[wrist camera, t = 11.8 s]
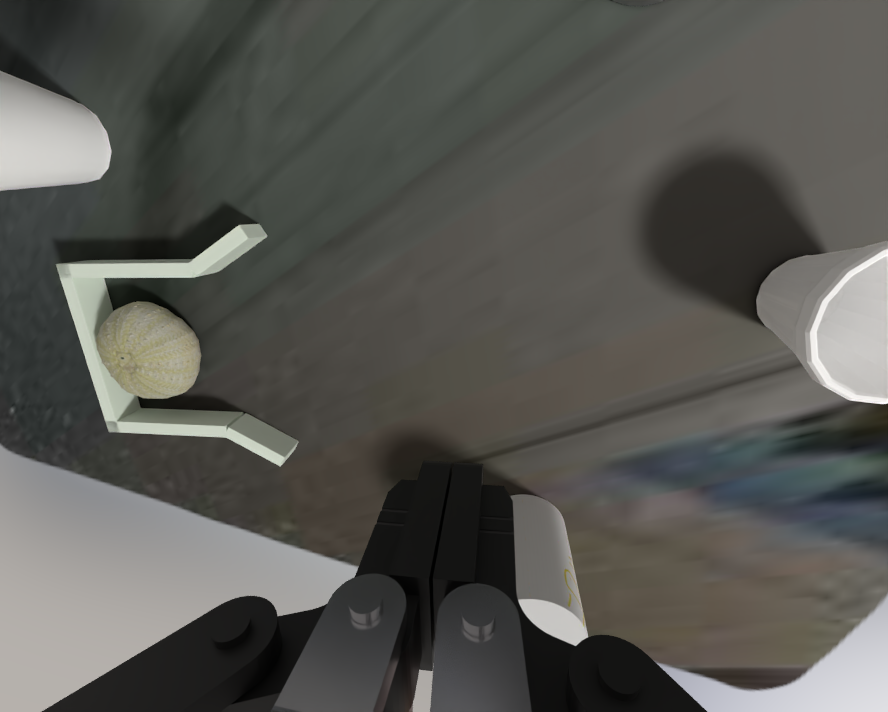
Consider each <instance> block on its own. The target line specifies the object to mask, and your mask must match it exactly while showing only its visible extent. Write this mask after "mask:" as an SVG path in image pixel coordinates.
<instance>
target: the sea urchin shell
mask: <svg viewBox="0 0 888 712" xmlns="http://www.w3.org/2000/svg"><path fill="white" fill-rule="evenodd" d="M95 342H96V347H97V351H98V353H99V355H100V358H101V360H102V362H101V363H102V364H104V366H105V367H106V368H107V370H108V371H109V373H110V375H111V377H113V378H114V379H115V380H116V382H117V383H118V384H119V385H120V387H121V388H123V389H124V390H125V391H126V392H128V393H130V394H134V395H137V396H139V397H142V398H148V399H150V398H153V399H156V398H157V399H164V398H169V397H172V396H177V395H180V394H182V393H184V392H186V391H187V390H188V389H189V388H190V387H192V385H194V382H195V380H196V377H197V375H198V372H199V369H200V367H199V366H200V360H201V359H200V357H201V355H202V354H201V353H200V347H199V339H198V338H197V337H196V335H195V332H194V331H193V330H192V329H191V328H190V327H189V326H188V325H187V324H186V323H185V322H184V320H183V319H181V318H179V317H177V316H175V315H174V314H173V313H172V312H170V311H169V310H168V309H166V308H163V307H161V306H158V305H156V304H154V303H150V302H139V301H137V302H133V303H130V304H127V305H125V306H123V307H121V308H118V309H116V310H114V311H113V312H112V313H111V314H110V316H109V317H108V319H107V320H106V321H105V322H104V323H103V324H102V325H101V327H100V330H99V333H98V335H97V338H96V341H95Z"/></svg>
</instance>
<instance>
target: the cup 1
mask: <svg viewBox="0 0 888 712" xmlns="http://www.w3.org/2000/svg"><path fill="white" fill-rule="evenodd" d="M510 497H511V499H512V500H513V515H514V541H515V567H516V591H517V598H518V601H519V604H520V606H521V608H522V610H523V612H524V613H525V615H526V616H527V617H528V618H529V619H530V621H531V622H532V623H533V624H535V625H536V626H537V627H538V628H540V629H541V630H543V631H544V632H545V633H547V634H549V635H551V636H553V637H556V638H558V639H560V640H563V641H565V642H567V643H570V644H572V645H574V646H576V645H577V644H578V643H580V642H581V641H582V640H584V639H586V638H588V634H587V629H586V624H585V619H584V614H583V610H582V605H581V600H580V595H579V590H578V585H577V581H576V576H575V571H574V566H573V561H572V557H571V552H570V547H569V542H568V537H567V532H566V528H565V523H564V519H563V517H562V515H561V513H560V512H559V510H558V509H557V508H556V507H555V506H554V505H553V504H551V503H550V502H548V501H547V500H545V499H543V498H540V497H537V496H533V495H526V494H520V495H512V496H510Z"/></svg>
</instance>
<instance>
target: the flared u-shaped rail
mask: <svg viewBox="0 0 888 712" xmlns="http://www.w3.org/2000/svg"><path fill="white" fill-rule="evenodd" d="M266 237H267V234H266V233H265V232H264V230H263V229H262V227H261V226H260V224H247V225H238V226H237V227H236V228H234V229H233V230H232V231H230V232H229V233H228V234H226V235H225V236H224V237H222V238H221V239H220V240H218V241H217V242H216V243H214V244H213V245H212V246H210V247H209V248H208V249H206V250H205V251H204V252H202V253H201V254H200V255H198V256H197V257H196V258H194V259H156V260H84V261H76V262H68V263H60V264H56V266H57V270H58V273H59V276H60V279H61V282H62V285H63V289H64V292H65V295H66V298H67V301H68V304H69V307H70V311H71V314H72V317H73V320H74V323H75V326H76V330H77V333H78V336H79V339H80V342H81V345H82V349H83V352H84V355H85V358H86V361H87V364H88V368H89V371H90V374H91V377H92V380H93V383H94V387H95V390H96V393H97V396H98V399H99V402H100V406H101V409H102V412H103V415H104V418H105V421H106V424H107V428H108V431H109V432H122V433H143V434H164V435H186V436H207V437H226V438H228V439H230V440H232V441H234V442H236V443H237V444H239V445H241V446H243V447H245V448H247V449H249V450H251V451H253V452H254V453H256V454H258V455H260V456H262V457H264V458H266V459H268V460H269V461H271V462H273V463H275V464H277V465H279V466H281V465H282V464H283V463H284V462H285V461H286V459H287V458H288V457H289V456H290V455H291V454H292V452H293V451H294V450H295V448H296V446H297V444H298V442H299V441H298V440H296V439H294V438H292V437H290V436H288V435H286V434H285V433H283V432H281V431H279V430H277V429H275V428H273V427H272V426H270V425H268V424H266V423H264V422H262V421H260V420H259V419H257V418H255V417H253V416H251V415H249V414H247V413H245V414H244V413H243V412H230V411H204V410H178V409H153V408H141V407H140V404H139V400H138V396H137V395H134V394H130V393H128V392H126V391H125V390H124V389H123V388H121V387H120V385H119V384H118V383H117V382H116V380H115V379H114V378H113V377H111V375H110V373H109V371H108V370H107V368H106V367H105V366H104V364H102V363H101V362H102V360H101V358H100V355H99V353H98V351H97V347H96V342H95V341H96V338H97V335H98V333H99V330H100V327H101V325H102V324H103V323H104V322H105V321H106V320H107V319H108V317H109V316H110V314H111V313H112V312H113V308H112V304H111V301H110V297H109V294H108V290H107V287H106V283H105V280H104V278H193V277H198V276H202V275H207V274H211V273H216V272H219V271H220V270H222V269H223V268H225V267H226V266H227V265H229V264H230V263H231V262H233V261H234V260H236V259H237V258H238V257H240V256H241V255H243V254H244V253H245V252H247V251H248V250H249V249H251V248H252V247H254V246H255V245H256V244H258V243H259V242H260V241H262V240H263V239H265V238H266Z"/></svg>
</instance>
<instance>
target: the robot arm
mask: <svg viewBox="0 0 888 712" xmlns="http://www.w3.org/2000/svg"><path fill="white" fill-rule="evenodd" d="M612 1H614V2H617V3H620V4H623V5H627V6H647V5H652V4H657V3H660V2H662V1H664V0H612ZM433 663H434V667H433ZM419 669H420V670H428V671H432V670H433V681H432V694H431V708H430V712H707V711H706V710H705V709H704V708H702V707H701V705H700V704H699V703H697V702H696V701H695V700H694V699H693V698H692V697H691V696H690V695H689V694H688V693H687V692H686V691H685V690H684V689H683V688H682V687H681V686H680V685H678V684H677V683H676V682H675V681H674V680H673V679H672V678H671V677H670V676H669V675H668V674H667V673H666V672H665V671H664V670H663V669H662V668H661V667H660V666H659V665H657V664H656V663H655V662H654V661H653V660H652V659H651V658H650V657H649V656H648V655H647V654H646V653H644V652H643V651H642V650H641V649H639V648H638V647H636V646H635V645H633V644H632V643H630V642H628V641H626V640H623V639H621V638H618V637H614V636H609V635H595V636H591V637H588V638H586V639H584V640H582V641H581V642H580V643H578V644H577V645H576V646H574V645H572V644H570V643H567V642H565V641H563V640H560V639H558V638H556V637H553V636H551V635H549V634H547V633H545V632H544V631H543V630H541V629H540V628H538V627H537V626H536V625H535V624H533V623H532V622H531V621H530V619H529V618H528V617H527V616H526V615H525V613H524V612H523V610H522V608H521V606H520V604H519V601H518V598H517V591H516V567H515V541H514V515H513V500H512V499H511V497H510V495H509V494H508V492H507V491H506V489H505V488H504V486H492V485H483V464H473V463H456V462H455V463H454V466H453V463H452V462H438V461H424V462H423V464H422V467H421V470H420V474H419V477H418V480H417V481H414V480H401V481H400V482H399V483H398V484H397V485H396V486H394V487H393V488H392V489H391V490H390V491H389V492H388V494H387V497H386V499H385V502H384V504H383V507H382V511H381V512H380V515H379V517H378V520H377V524H376V525H375V527H374V530H373V532H372V535H371V537H370V540H369V543H368V545H367V548H366V550H365V553H364V555H363V558H362V560H361V563H360V565H359V568H358V570H357V573H356V575H355V577H354V578H352V579H351V580H348V581H347V582H345V583H344V584H342V585H341V586H340V587H339V588H338V589H337V590H336V591H335V592H334V593H333V595H332V597H331V598H330V600H329V602H328V604H326V605H324V606H322V607H319V608H316V609H313V610H308V611H303V612H298V613H293V614H288V615H283V616H278V617H277V612H276V610H275V607H274V606H273V605H272V603H271V602H270V601H268V600H267V599H265V598H262V597H257V596H245V597H239V598H235V599H232V600H230V601H227V602H225V603H223V604H221V605H219V606H218V607H216V608H214V609H213V610H211V611H209V612H208V613H206V614H204V615H203V616H201V617H199V618H197V619H196V620H194V621H192V622H191V623H189V624H187V625H186V626H184V627H182V628H181V629H179V630H178V631H176V632H174V633H172V634H171V635H169V636H167V637H166V638H164V639H162V640H161V641H159V642H158V643H156V644H154V645H152V646H151V647H149V648H148V649H146V650H144V651H142V652H141V653H139V654H137V655H136V656H134V657H132V658H131V659H129V660H127V661H126V662H124V663H122V664H121V665H119V666H117V667H116V668H114V669H112V670H111V671H109V672H107V673H106V674H104V675H102V676H101V677H99V678H97V679H96V680H94V681H92V682H91V683H89V684H87V685H85V686H84V687H82V688H80V689H79V690H77V691H76V692H74V693H72V694H70V695H69V696H67V697H66V698H64V699H62V700H60V701H59V702H57V703H55V704H54V705H52V706H51V707H49V708H47V709H45V710H44V711H42V712H413V711H412V710H413V700H414V695H415V690H416V685H417V679H418V673H419Z"/></svg>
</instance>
